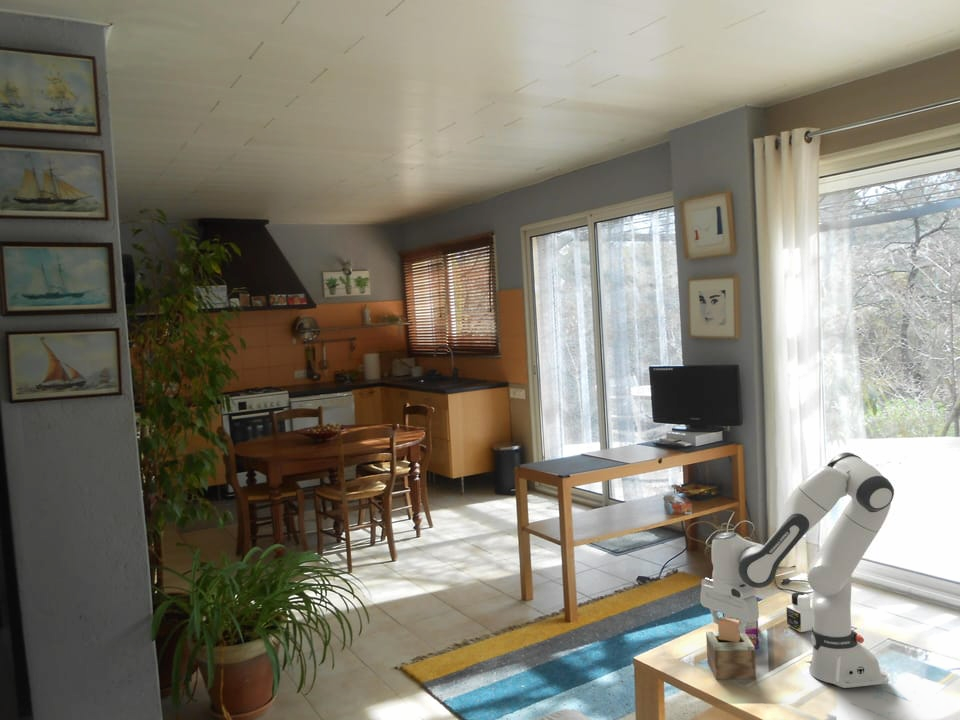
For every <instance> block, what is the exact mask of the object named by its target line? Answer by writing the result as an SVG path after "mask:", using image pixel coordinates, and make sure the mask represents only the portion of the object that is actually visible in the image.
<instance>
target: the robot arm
mask: <svg viewBox="0 0 960 720" xmlns="http://www.w3.org/2000/svg"><path fill="white" fill-rule="evenodd" d="M894 495H895V489H894V486H893V484H892V483H891V481H889V479H888V478H886V476H885V477H884V475H883V474H882V473H881V472H880V471H879V470H877V469H876V468H875V466H873V465H871V464H870V463H869V462H867V461H865V460H864V459H862V458H861V457H859V455H857V454H854V453H852V452H846V451H845V452H842V453H839V454H837V455H836V456H834V457H833V458H831V460H830V461H829V462H828V463H827V465H824V466H820V467H819V468H817V469H816V470H814V471H813V472H812V473H811V474H809V475H808V476H807V477H806V478H805V479H803V480H802V481H801V483H800V484H799V485H798V486H796V488H794V490H793V491H792V492H791V494H790V496H788V499H787V501H785V505H784V509H783V510H784V511H783V516H782V520H781V522H780V525H779V526H778V528H777V530H776V531H775V532H774V533H773V534H772V536H771V537H770V538H769V539H768V540H767V542H765V544H762V543H759V542H755V541H751V540H748V539H746V538H743V537H742V536H740V535H739V534H737V533H736V532H732V531H729V532H728V531H726V532H722V533H718V534H716V535H715V536H714V537H713V538H712V542H711V563H712V567H713V568H712V569H713V570H712V572H711V573H712V575H711V577H712V578H711V579H710V578H708V577H705V578H703V579H701V582H700V583H701V587H700V599H699V601H700V604H701V606H702V607H704V608H706V609H709V611H710V614H711V616H712V618H713V623H714V624H716V625H718V620H719V618H720V617H719V614H718V613H721V614H722V615H723V614H726V615H729V616H732V617H734V618H737V619H740V623H742V624H741V626H739V627H738V632H740V633H742V634H743V633H745V627H746V625H747V624H748V623H752V622H755V621H757V620H758V621H759V617H760V615H759V614H760V612H759V604H758V599H757V596H756V595H757V589H762V588H766V587H768V586H770V585H771V584H772V583H773V581H774V580H775V577H776V574H777V570H778V568H779V565H781V563H782V561H784V559H785V558H786V557H787V555H788V554H789V553H790V552H791V551H792V549H794V547H795V546H796V545H797V543H799V541H800V540H801V539H802V538H803V537H804V536H805V535H806V534H807V533H808V532H809V531H810V530H812V528H814V527H815V526H816V525H817V524H818V523H819V522H820V521H822V520H823V518H825V516H826V515H827V514H828V513H829V512H831V510H832V509H834V507H835V506H836V505H837V503H838V501H840V499H841V498H843V497H846V496H849V497H851V499H850V501H849V502H848V504H847V505H846V506H845V508H844V510H843V511H842V512H841V514H840V516H839V518H838V520H837V521H836V523H835V524H834V526H833V527H832V529H831V530H830V532H829V533H828V535H827V537H826V539H825V540H824V542H823V543H822V545H821V546H820V549H819V550H817V553H816V555H815V556H814V557H813V559H812V561H811V562H810V564H809V566H808V568H807V576H806V577H807V583H808V585H809V587H810V588H811V589H812V590H813V593H812V594H813V595H812V604H811V607H812V612H813V627H812V630H811V644H812V655H811V660H810V661H811V662H810V666H809V669H808V672H809V674H810V675H811V676H813V677H814V679H817V680H819V681H823V682H825V683H829V684H834V685H836V686H838V687H840V688H843V689H846V688H847V689H848V688H857V687H864V686H865V687H866V686H876V685H883V684H884V685H885V684H888V683H889V681H890V680H889V676H888V674H887V673H886V671H885V670H884V669H883V668H882V667H880V664H879V662H878V659H877V657H876V655H875V654H874V653H873V652H872V651H870V649H868V648H867V647H866V646H863V643H864V641H865V639H864V637H862V635H860V634H858V632H856V631H855V630H853V629H852V617H851V615H852V613H851V612H852V610H851V607H852V606H851V605H852V604H851V601H852V575H853V573H854V571H855V570H856V568H857V567H858V565H859V563H860V561H861V560H862V558H863V557H864V555H865V553H866V552H867V550H868V548H869V547H870V545H871V544H872V543H873V541H874V539H875V538H876V536H877V534H878V533H879V532H880V529H882V527H883V525H884V522H885V521H886V519H887V516H888V514H889V511H890V509H891V505H892V501H893V499H894ZM754 595H755V596H756V597H755V596H754Z"/></svg>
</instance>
